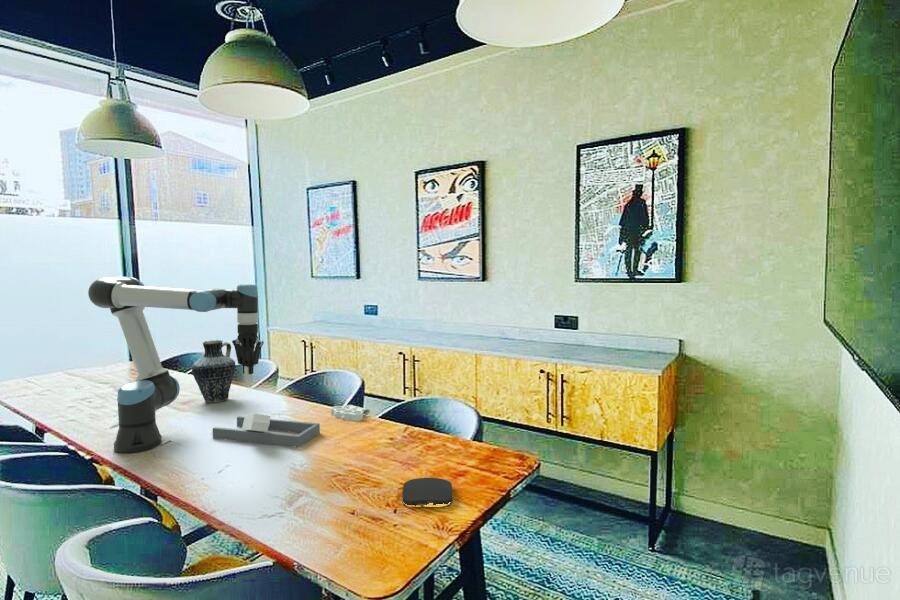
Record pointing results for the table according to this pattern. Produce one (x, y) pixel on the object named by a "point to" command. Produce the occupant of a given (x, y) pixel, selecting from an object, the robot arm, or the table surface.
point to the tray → (271, 438)
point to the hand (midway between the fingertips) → (248, 381)
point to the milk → (256, 422)
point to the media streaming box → (427, 491)
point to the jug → (214, 371)
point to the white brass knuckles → (349, 412)
